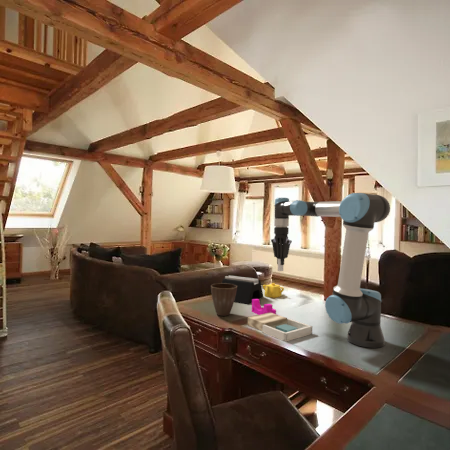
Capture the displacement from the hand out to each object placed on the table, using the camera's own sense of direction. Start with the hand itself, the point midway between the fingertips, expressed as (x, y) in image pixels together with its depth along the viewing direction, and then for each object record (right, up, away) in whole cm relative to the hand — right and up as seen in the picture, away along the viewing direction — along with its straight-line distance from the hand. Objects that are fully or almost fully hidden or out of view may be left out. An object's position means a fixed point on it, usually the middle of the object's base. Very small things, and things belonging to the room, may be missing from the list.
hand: (280, 270), depth 174 cm
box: (0, -27, -20) cm, 33 cm away
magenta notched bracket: (-8, -27, +10) cm, 30 cm away
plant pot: (-31, -26, +10) cm, 41 cm away
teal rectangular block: (-1, -27, -20) cm, 33 cm away
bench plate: (-8, -26, -9) cm, 29 cm away
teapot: (+3, -26, +52) cm, 58 cm away
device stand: (-19, -26, +46) cm, 56 cm away
